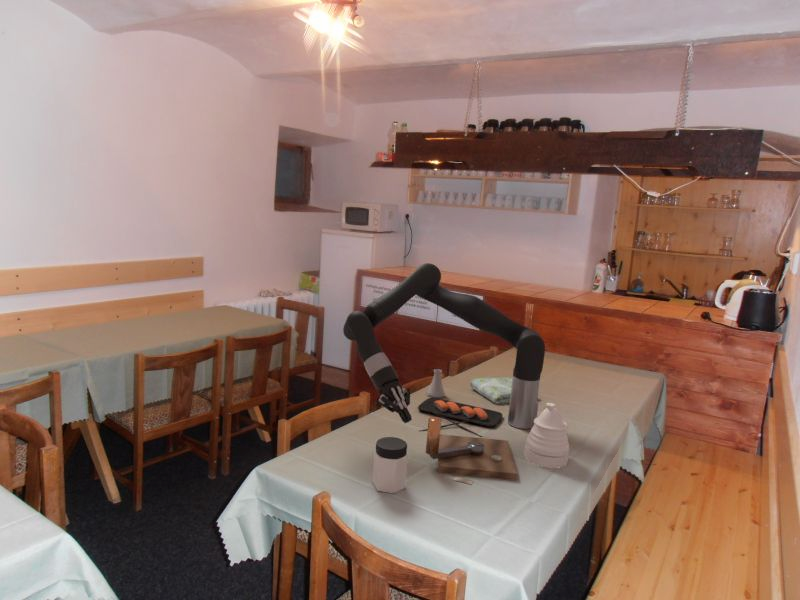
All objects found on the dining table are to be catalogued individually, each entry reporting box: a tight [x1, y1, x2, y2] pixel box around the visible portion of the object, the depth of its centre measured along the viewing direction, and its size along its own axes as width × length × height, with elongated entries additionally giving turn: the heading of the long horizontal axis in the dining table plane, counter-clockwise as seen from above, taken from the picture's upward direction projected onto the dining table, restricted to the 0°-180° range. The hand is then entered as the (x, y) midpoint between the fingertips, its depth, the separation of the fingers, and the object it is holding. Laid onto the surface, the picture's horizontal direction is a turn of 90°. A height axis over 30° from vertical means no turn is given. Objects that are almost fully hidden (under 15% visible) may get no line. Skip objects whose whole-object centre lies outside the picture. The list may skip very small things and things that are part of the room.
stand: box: [437, 433, 518, 486], centre depth 170 cm, size 22×27×2 cm
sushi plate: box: [417, 397, 503, 438], centre depth 200 cm, size 29×30×4 cm
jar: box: [371, 436, 409, 494], centre depth 152 cm, size 9×8×12 cm
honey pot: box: [524, 402, 570, 469], centre depth 174 cm, size 13×13×18 cm
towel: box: [469, 376, 513, 405], centre depth 231 cm, size 18×21×5 cm
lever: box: [425, 416, 484, 460], centre depth 168 cm, size 19×5×12 cm, turn 116°
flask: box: [426, 368, 446, 399], centre depth 224 cm, size 7×7×10 cm
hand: (408, 421), depth 169 cm, fingers closed
